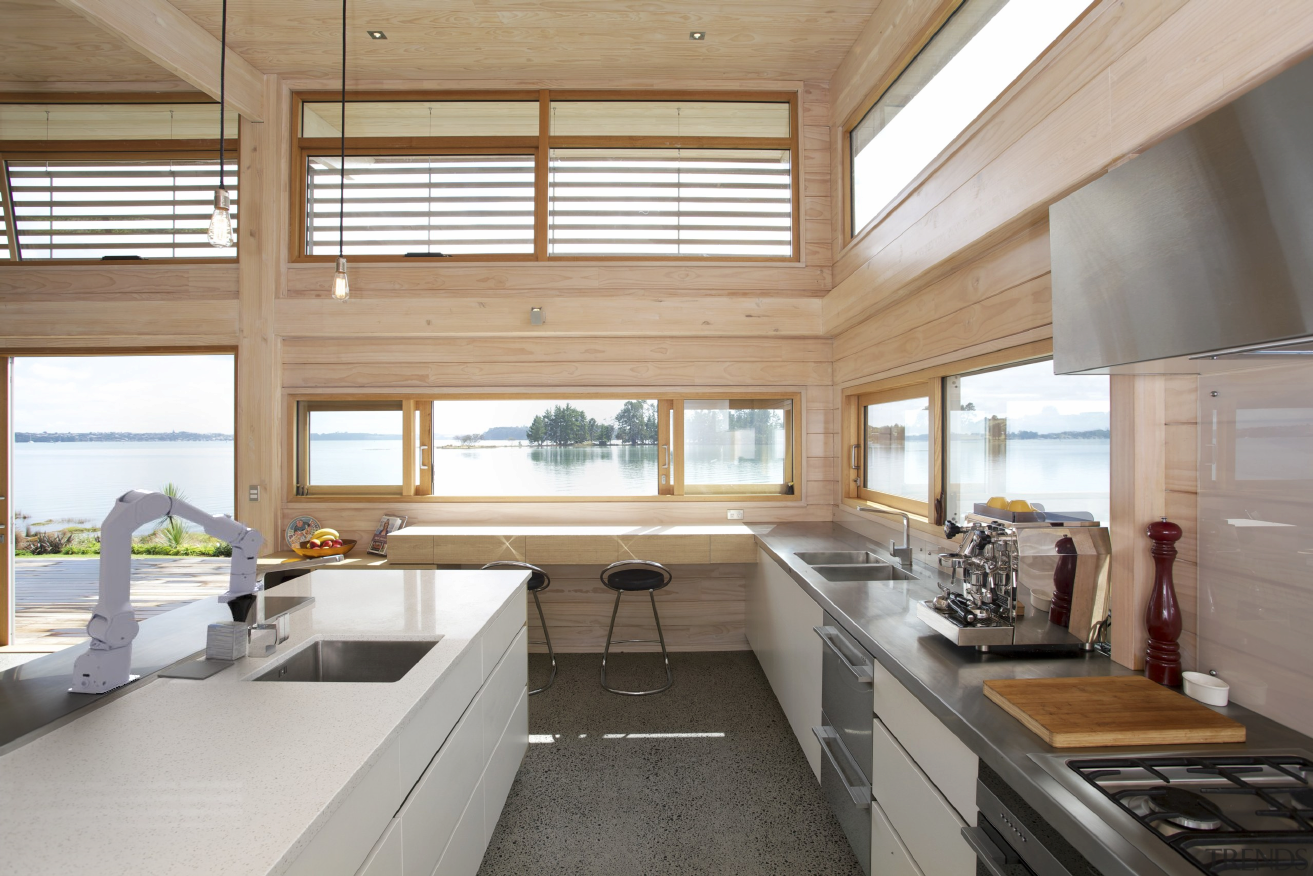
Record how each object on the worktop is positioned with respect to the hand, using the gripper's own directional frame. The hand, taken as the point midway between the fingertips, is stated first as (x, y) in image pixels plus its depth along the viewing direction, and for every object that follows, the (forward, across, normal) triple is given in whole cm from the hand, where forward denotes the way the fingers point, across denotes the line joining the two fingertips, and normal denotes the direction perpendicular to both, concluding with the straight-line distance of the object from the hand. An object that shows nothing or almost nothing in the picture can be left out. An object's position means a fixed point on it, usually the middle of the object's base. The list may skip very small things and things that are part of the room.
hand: (239, 623), depth 158 cm
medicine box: (+8, -4, 0) cm, 9 cm away
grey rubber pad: (+7, -14, 0) cm, 16 cm away
